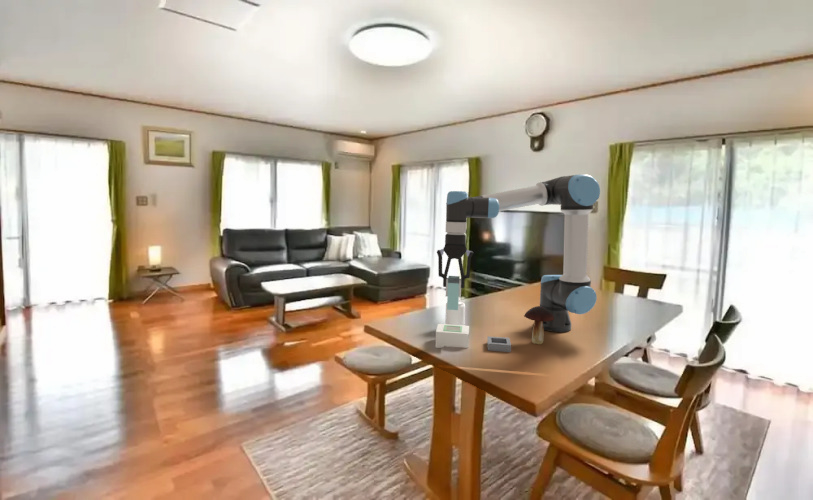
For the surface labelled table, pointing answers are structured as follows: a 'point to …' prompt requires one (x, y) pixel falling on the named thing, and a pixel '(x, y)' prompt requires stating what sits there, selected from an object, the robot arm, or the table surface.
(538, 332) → the decorative mushroom
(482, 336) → the table surface
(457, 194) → the robot arm
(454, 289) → the light blue tall block
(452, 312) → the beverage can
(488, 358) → the table surface
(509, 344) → the holster
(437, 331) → the port block
